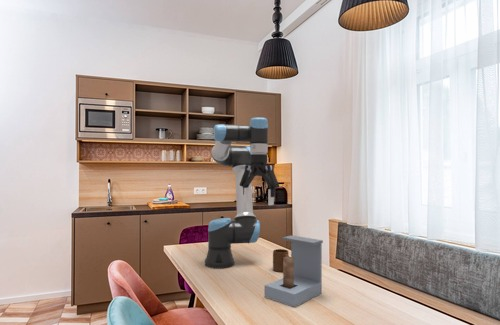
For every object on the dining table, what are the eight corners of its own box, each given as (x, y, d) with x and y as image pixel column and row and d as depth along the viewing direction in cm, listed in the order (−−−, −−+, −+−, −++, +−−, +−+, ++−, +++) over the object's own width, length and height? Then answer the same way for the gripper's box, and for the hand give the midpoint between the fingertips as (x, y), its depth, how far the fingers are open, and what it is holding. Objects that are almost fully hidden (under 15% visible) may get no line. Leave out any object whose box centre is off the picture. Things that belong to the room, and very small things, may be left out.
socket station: (263, 296, 131) (263, 241, 131) (291, 284, 144) (291, 235, 145) (295, 307, 120) (295, 248, 121) (322, 293, 134) (322, 240, 135)
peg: (281, 297, 130) (281, 258, 130) (287, 294, 133) (287, 256, 133) (289, 300, 127) (289, 259, 128) (295, 297, 130) (295, 258, 130)
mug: (296, 274, 159) (296, 253, 160) (281, 275, 157) (281, 255, 157) (283, 267, 171) (283, 248, 171) (270, 268, 168) (270, 249, 168)
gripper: (232, 154, 151) (231, 202, 150) (276, 153, 134) (276, 206, 133) (243, 154, 156) (243, 201, 156) (287, 153, 139) (287, 205, 139)
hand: (258, 203), depth 145 cm, fingers open, 13 cm apart
